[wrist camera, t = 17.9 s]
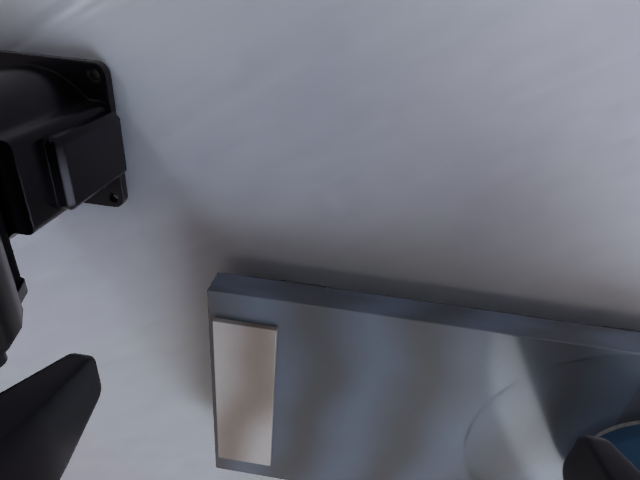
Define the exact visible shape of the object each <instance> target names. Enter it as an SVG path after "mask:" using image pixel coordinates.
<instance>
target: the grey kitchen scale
mask: <svg viewBox="0 0 640 480" xmlns="http://www.w3.org/2000/svg"><path fill="white" fill-rule="evenodd" d="M207 292H208V312H209V333H210V353H211V373H212V393H213V413H214V433H215V453H216V467H217V468H222V469H228V470H234V471H240V472H245V473H251V474H257V475H263V476H269V477H275V478H280V479H286V480H563V474H562V469H563V463H564V461H565V459H566V457H567V455H568V454H569V452H570V450H571V448H572V447H573V445H574V443H575V441H576V440H577V438H578V437H579V436H581V435H589V436H595V435H596V434H598V433H599V432H601V431H603V430H605V429H607V428H610V427H612V426H615V425H618V424H622V423H626V422H632V421H639V420H640V331H635V330H628V329H621V328H614V327H607V326H604V327H598V326H591V325H584V324H577V323H570V322H563V321H556V320H549V319H542V318H535V317H528V316H521V315H514V314H507V313H500V312H493V311H486V310H479V309H472V308H465V307H458V306H451V305H444V304H437V303H430V302H423V301H416V300H409V299H402V298H395V297H388V296H381V295H374V294H367V293H360V292H353V291H346V290H338V289H331V288H327V287H326V286H319V285H312V284H305V283H298V282H291V281H284V280H281V281H275V280H268V279H261V278H254V277H247V276H240V275H233V274H226V273H217V275H216V276H215V278H214V280H213V281H212V283H211V285H210V287H209V288H208V290H207Z"/></svg>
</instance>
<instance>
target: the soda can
mask: <svg viewBox="0 0 640 480" xmlns="http://www.w3.org/2000/svg"><path fill="white" fill-rule="evenodd" d="M595 437H601V438H605V439H607V440H608V441H609V442H611V443H612V444H613V445H614V446H615V447H616V448H617V449H618V450H619V451H620V452H621V453H622V454H623V455H624V456H625V457H626V458H627V459H628V460H629V461H630V462H631V463H632V464H633V465H634V466H635V467H636V468H637V469H638V470H639V471H640V420H639V421H632V422H626V423H622V424H618V425H615V426H612V427H610V428H607V429H605V430H603V431H601V432H599V433H598V434H596V435H595Z"/></svg>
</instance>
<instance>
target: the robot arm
mask: <svg viewBox="0 0 640 480" xmlns="http://www.w3.org/2000/svg"><path fill="white" fill-rule="evenodd" d="M94 69H96V70H97V71H98V72H99V74H100V79H97V78H96V77H95V76H94V73H93V71H94ZM125 171H126V161H125V154H124V146H123V139H122V132H121V125H120V118H119V117H118V115H117V114H116V108H115V101H114V94H113V87H112V80H111V74H110V71H109V69H108V67H107V66H106V65H105V64H104V63H102V62H100V61H96V60H87V59H78V58H69V57H60V56H52V55H43V54H34V53H25V52H16V51H7V50H0V367H2V366H3V365H4V364H5V363H6V361H7V354H6V351H7V350H8V349H9V347H10V346H11V344H12V343H13V341H14V339H15V338H16V336H17V334H18V333H19V331H20V329H21V328H22V317H23V308H22V305H21V303H22V301H23V299H24V297H25V296H26V294H27V291H28V290H27V286H26V283H25V279H24V278H22V277H20V274H19V270H18V267H17V264H16V260H15V257H14V254H13V250H12V247H11V244H10V239H11V238H13V237H14V236H16V235H17V234H24V235H31V234H33V233H34V232H36V231H37V230H39V229H40V228H41V227H43V226H44V225H46V224H47V223H49V222H50V221H51V220H53V219H54V218H56V217H57V216H58V215H60V214H61V213H63V212H64V211H66V210H67V209H69V210H73V209H75V208H76V207H78V206H79V205H80V204H82V203H90V204H98V205H105V206H113V207H119V206H121V205H122V204H123V203H124V202H126V200H127V198H128V194H127V187H126V180H125ZM113 193H116V194H117V195H118V198H119V199H118V198H115V197H114V196H113ZM100 392H101V383H100V379H99V374H98V370H97V365H96V361H95V359H94V358H93V357H92V356H89V355H82V354H76V353H73V354H69V355H67V356H65V357H63V358H61V359H60V360H58V361H56V362H54V363H53V364H51V365H49V366H47V367H45V368H44V369H42V370H40V371H38V372H37V373H35V374H33V375H31V376H30V377H28V378H26V379H24V380H23V381H21V382H19V383H17V384H15V385H14V386H12V387H10V388H8V389H7V390H5V391H3V392H1V393H0V480H60V478H61V476H62V474H63V472H64V471H65V469H66V467H67V465H68V463H69V460H70V458H71V456H72V454H73V452H74V450H75V448H76V446H77V444H78V441H79V439H80V437H81V435H82V433H83V431H84V429H85V427H86V424H87V422H88V420H89V418H90V416H91V414H92V412H93V410H94V408H95V405H96V403H97V401H98V399H99V396H100ZM562 474H563V480H640V471H639V470H638V469H637V468H636V467H635V466H634V465H633V464H632V463H631V462H630V461H629V460H628V459H627V458H626V457H625V456H624V455H623V454H622V453H621V452H620V451H619V450H618V449H617V448H616V447H615V446H614V445H613V444H612V443H611V442H609V441H608V440H607V439H605V438H601V437H595V436H589V435H581V436H579V437H578V438H577V440H576V441H575V443H574V445H573V447H572V448H571V450H570V452H569V454H568V455H567V457H566V459H565V461H564V463H563V469H562Z"/></svg>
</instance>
